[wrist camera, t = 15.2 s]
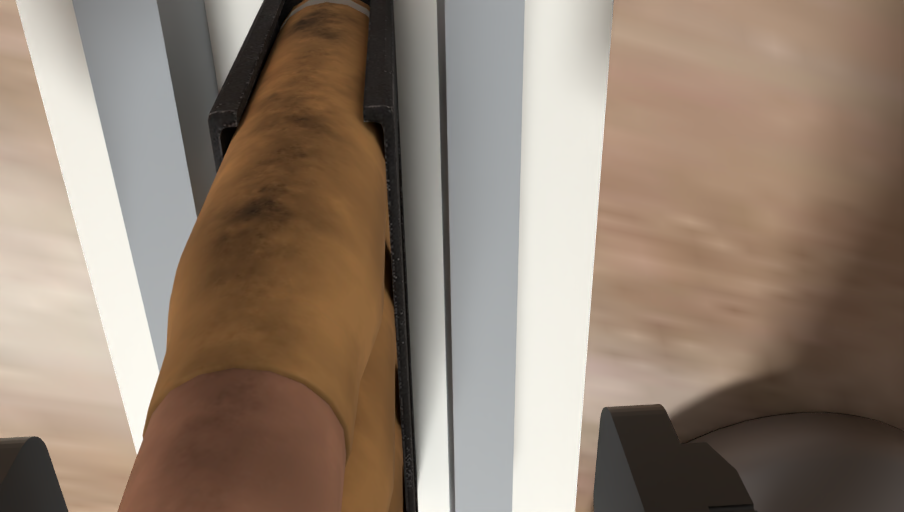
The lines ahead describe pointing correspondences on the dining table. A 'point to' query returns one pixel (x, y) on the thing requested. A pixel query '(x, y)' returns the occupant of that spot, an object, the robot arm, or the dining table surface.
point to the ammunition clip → (292, 286)
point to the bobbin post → (816, 462)
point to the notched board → (424, 201)
